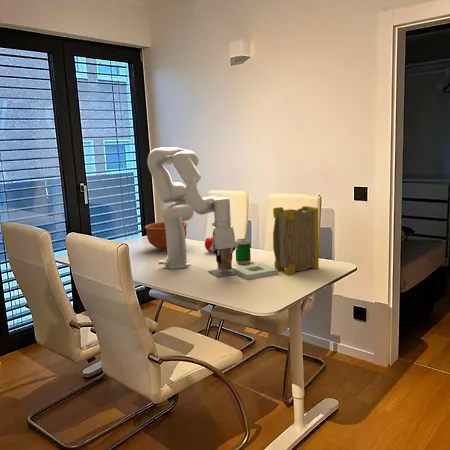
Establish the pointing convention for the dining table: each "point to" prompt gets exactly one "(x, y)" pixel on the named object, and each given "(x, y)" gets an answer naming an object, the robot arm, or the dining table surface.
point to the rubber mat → (223, 273)
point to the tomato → (209, 244)
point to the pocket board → (248, 274)
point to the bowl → (159, 234)
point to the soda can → (243, 251)
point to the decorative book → (295, 239)
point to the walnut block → (225, 259)
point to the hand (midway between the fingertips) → (224, 261)
